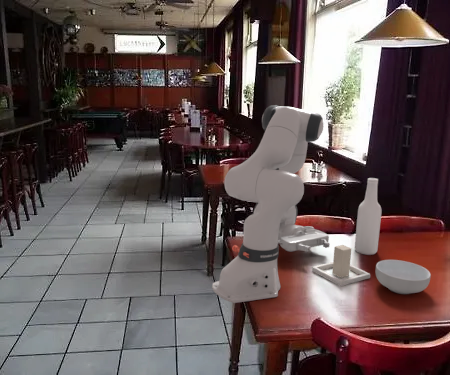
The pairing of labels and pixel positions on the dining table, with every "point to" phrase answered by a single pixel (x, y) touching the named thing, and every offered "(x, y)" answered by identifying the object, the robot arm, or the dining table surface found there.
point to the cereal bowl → (402, 276)
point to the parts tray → (360, 277)
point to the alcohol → (368, 221)
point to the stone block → (341, 261)
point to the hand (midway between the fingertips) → (318, 247)
